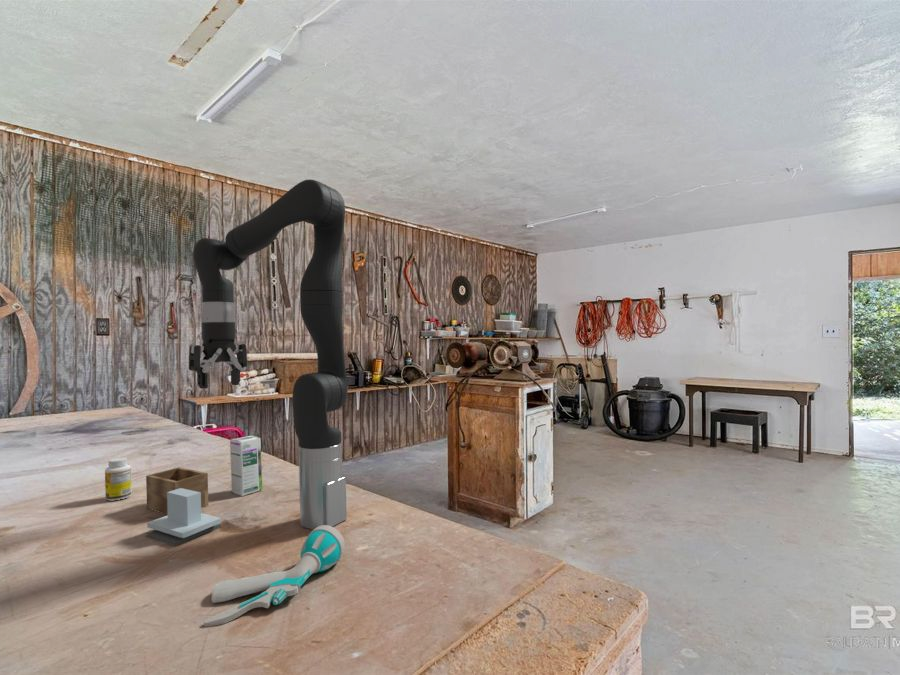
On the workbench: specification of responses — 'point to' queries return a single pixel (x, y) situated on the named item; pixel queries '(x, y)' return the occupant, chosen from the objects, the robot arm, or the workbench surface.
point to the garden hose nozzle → (280, 576)
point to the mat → (174, 539)
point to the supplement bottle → (118, 479)
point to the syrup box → (246, 465)
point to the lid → (184, 515)
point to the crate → (174, 486)
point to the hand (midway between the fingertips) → (219, 386)
